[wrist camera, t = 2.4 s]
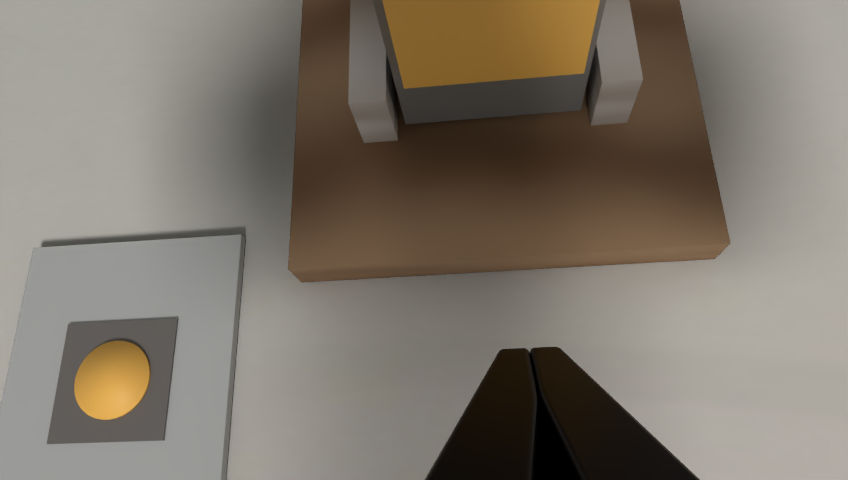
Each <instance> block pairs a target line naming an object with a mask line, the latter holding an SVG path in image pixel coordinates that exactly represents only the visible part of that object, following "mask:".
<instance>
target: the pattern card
mask: <svg viewBox="0 0 848 480" xmlns="http://www.w3.org/2000/svg"><path fill="white" fill-rule="evenodd" d="M245 239H246V238H245V237H244V236H243V235H241V234H239V235H224V236H208V237H193V238H177V239H162V240H146V241H131V242H115V243H100V244H84V245H69V246H53V247H38V248H33V252H32V257H31V262H30V266H29V271H28V276H27V281H26V286H25V291H24V295H23V300H22V305H21V310H20V315H19V319H18V324H17V329H16V334H15V339H14V343H13V348H12V353H11V358H10V363H9V368H8V372H7V377H6V382H5V387H4V392H3V396H2V401H1V406H0V480H226V473H227V461H228V448H229V436H230V424H231V411H232V399H233V387H234V374H235V362H236V350H237V337H238V325H239V313H240V300H241V288H242V276H243V263H244V251H245Z"/></svg>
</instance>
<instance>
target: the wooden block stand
mask: <svg viewBox="0 0 848 480" xmlns="http://www.w3.org/2000/svg"><path fill="white" fill-rule="evenodd" d="M729 244H730V240H729V235H728V230H727V225H726V221H725V216H724V211H723V206H722V202H721V197H720V192H719V187H718V182H717V178H716V173H715V168H714V163H713V159H712V154H711V149H710V144H709V140H708V135H707V130H706V125H705V121H704V116H703V111H702V106H701V101H700V97H699V92H698V87H697V82H696V78H695V73H694V68H693V63H692V59H691V54H690V49H689V44H688V40H687V35H686V30H685V25H684V21H683V16H682V11H681V6H680V1H679V0H606V3H605V8H604V12H603V16H602V20H601V25H600V29H599V33H598V38H597V42H596V46H595V51H594V55H593V59H592V64H591V68H590V72H589V77H588V81H587V85H586V90H585V94H584V98H583V103H582V107H581V110H579V111H567V112H554V113H542V114H529V115H517V116H504V117H492V118H479V119H466V120H454V121H441V122H429V123H416V124H405V120H404V117H403V113H402V109H401V105H400V102H399V98H398V94H397V90H396V87H395V83H394V79H393V75H392V71H391V68H390V64H389V60H388V56H387V53H386V49H385V45H384V41H383V38H382V34H381V30H380V26H379V22H378V19H377V15H376V11H375V7H374V4H373V0H303V7H302V26H301V44H300V62H299V81H298V99H297V117H296V136H295V154H294V173H293V191H292V209H291V228H290V246H289V264H288V270H289V271H290V272H292V273H293V274H294V275H295V276H296V277H297V278H298V279H299V280H300V281H301V282H314V281H332V280H349V279H367V278H385V277H403V276H420V275H438V274H456V273H474V272H491V271H509V270H527V269H544V268H562V267H580V266H598V265H615V264H633V263H651V262H669V261H686V260H704V259H715V258H716V257H717V256H718V255H719V254H720V253H721V252H722V251H723V250H724V249H725V248H726V247H727V246H728V245H729Z"/></svg>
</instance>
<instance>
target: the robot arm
mask: <svg viewBox="0 0 848 480" xmlns="http://www.w3.org/2000/svg"><path fill="white" fill-rule="evenodd" d="M425 480H700V479H699V478H697V477H696V476H695V475H694V474H693V473H692V472H691V471H690V470H689V469H688V468H687V467H686V466H685V465H684V464H683V463H681V462H680V461H679V460H678V459H677V458H676V457H675V456H674V455H673V454H672V453H671V452H670V451H669V450H668V449H667V448H666V447H664V446H663V445H662V444H661V443H660V442H659V441H658V440H657V439H656V438H655V437H654V436H653V435H652V434H651V433H650V432H649V431H647V430H646V429H645V428H644V427H643V426H642V425H641V424H640V423H639V422H638V421H637V420H636V419H635V418H634V417H633V416H631V415H630V414H629V413H628V412H627V411H626V410H625V409H624V408H623V407H622V406H621V405H620V404H619V403H618V402H617V401H616V400H614V399H613V398H612V397H611V396H610V395H609V394H608V393H607V392H606V391H605V390H604V389H603V388H602V387H601V386H600V385H599V384H597V383H596V382H595V381H594V380H593V379H592V378H591V377H590V376H589V375H588V374H587V373H586V372H585V371H584V370H583V369H581V368H580V367H579V366H578V365H577V364H576V363H575V362H574V361H573V360H572V359H571V358H570V357H569V356H568V355H567V354H566V353H564V352H563V351H562V350H561V349H560V348H558V347H541V348H532V349H531V351H530V353H529V351H528V350H527V349H525V348H519V349H502V350H500V351H499V353H498V354H497V356H496V358H495V360H494V361H493V363H492V365H491V366H490V368H489V370H488V372H487V373H486V375H485V377H484V379H483V380H482V382H481V384H480V385H479V387H478V389H477V391H476V392H475V394H474V396H473V398H472V399H471V401H470V403H469V404H468V406H467V408H466V410H465V411H464V413H463V415H462V416H461V418H460V420H459V422H458V423H457V425H456V427H455V429H454V430H453V432H452V434H451V435H450V437H449V439H448V441H447V442H446V444H445V446H444V448H443V449H442V451H441V453H440V454H439V456H438V458H437V460H436V461H435V463H434V465H433V467H432V468H431V470H430V472H429V473H428V475H427V477H426V479H425Z"/></svg>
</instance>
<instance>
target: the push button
mask: <svg viewBox="0 0 848 480" xmlns="http://www.w3.org/2000/svg"><path fill="white" fill-rule="evenodd" d="M605 3H606V0H373V4H374V7H375V11H376V15H377V19H378V22H379V26H380V30H381V34H382V38H383V41H384V45H385V49H386V53H387V56H388V60H389V64H390V68H391V71H392V75H393V79H394V83H395V87H396V90H397V94H398V98H399V102H400V105H401V109H402V113H403V117H404V120H405V124H416V123H429V122H441V121H454V120H466V119H479V118H492V117H504V116H517V115H529V114H542V113H554V112H567V111H579V110H581V107H582V103H583V98H584V94H585V90H586V85H587V81H588V77H589V72H590V68H591V64H592V59H593V55H594V51H595V46H596V42H597V38H598V33H599V29H600V25H601V20H602V16H603V12H604V8H605Z"/></svg>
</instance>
